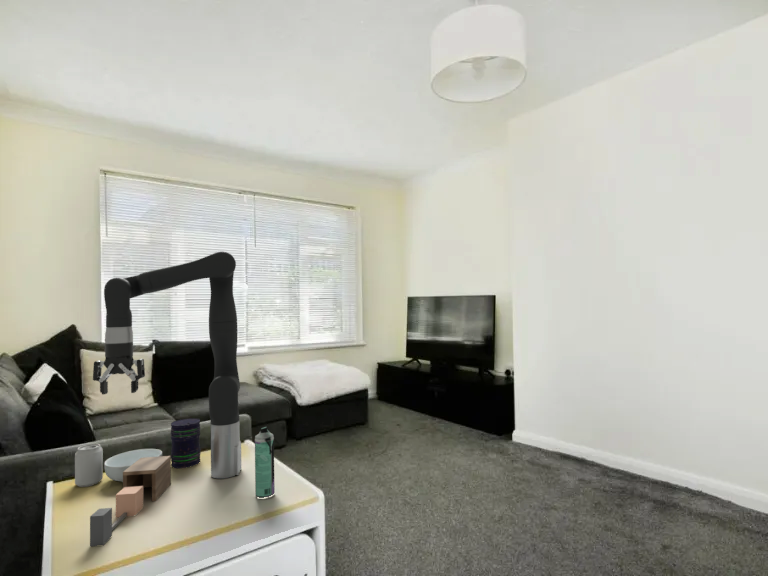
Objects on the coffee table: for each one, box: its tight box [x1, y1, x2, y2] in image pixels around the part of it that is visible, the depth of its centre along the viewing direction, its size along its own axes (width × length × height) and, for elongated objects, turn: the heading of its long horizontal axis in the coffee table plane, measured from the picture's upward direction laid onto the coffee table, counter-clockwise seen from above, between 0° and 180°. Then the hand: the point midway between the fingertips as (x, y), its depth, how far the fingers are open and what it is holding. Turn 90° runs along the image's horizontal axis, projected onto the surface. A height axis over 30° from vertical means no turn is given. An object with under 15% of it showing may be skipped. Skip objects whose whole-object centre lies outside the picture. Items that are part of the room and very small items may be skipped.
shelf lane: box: [122, 455, 172, 502], centre depth 132 cm, size 9×12×9 cm
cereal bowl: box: [103, 448, 163, 483], centre depth 144 cm, size 17×17×7 cm
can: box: [74, 443, 104, 488], centre depth 141 cm, size 8×8×12 cm
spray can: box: [254, 426, 276, 498], centre depth 128 cm, size 6×6×20 cm
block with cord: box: [89, 486, 144, 547], centre depth 112 cm, size 5×20×7 cm, turn 7°
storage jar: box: [170, 417, 201, 469], centre depth 157 cm, size 10×10×15 cm
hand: (119, 393), depth 135 cm, fingers open, 8 cm apart
